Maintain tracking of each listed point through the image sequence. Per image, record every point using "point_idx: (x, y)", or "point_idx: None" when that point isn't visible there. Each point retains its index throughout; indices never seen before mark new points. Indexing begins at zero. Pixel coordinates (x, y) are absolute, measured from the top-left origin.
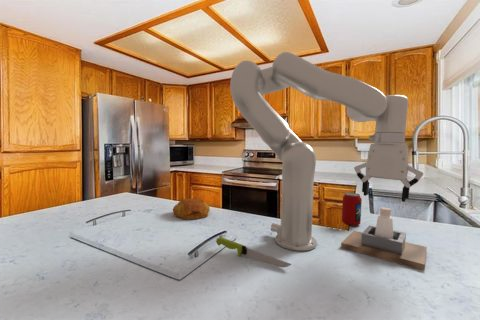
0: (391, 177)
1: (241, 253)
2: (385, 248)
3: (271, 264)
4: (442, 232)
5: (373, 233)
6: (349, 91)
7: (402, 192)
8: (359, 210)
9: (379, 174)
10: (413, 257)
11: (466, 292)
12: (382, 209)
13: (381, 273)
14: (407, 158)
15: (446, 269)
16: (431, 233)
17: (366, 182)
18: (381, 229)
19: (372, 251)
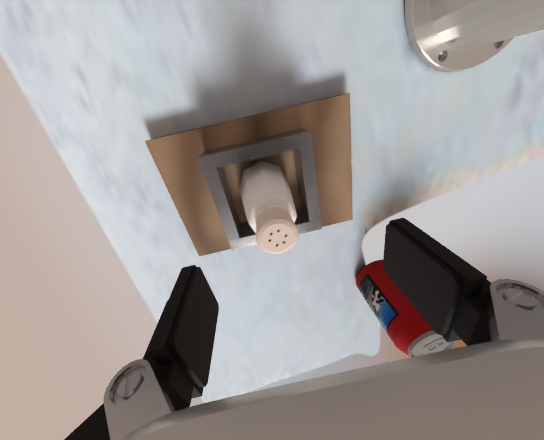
0: (244, 423)
1: None
2: (241, 143)
3: None
4: (229, 359)
5: (301, 214)
6: None
7: (183, 308)
8: (377, 304)
9: (451, 426)
10: (182, 164)
11: (41, 94)
12: (283, 218)
13: (195, 3)
14: None
15: (133, 190)
16: (238, 342)
17: (468, 295)
18: (268, 179)
19: (263, 113)
